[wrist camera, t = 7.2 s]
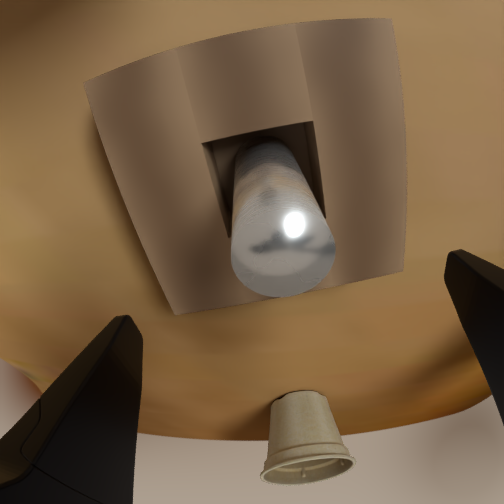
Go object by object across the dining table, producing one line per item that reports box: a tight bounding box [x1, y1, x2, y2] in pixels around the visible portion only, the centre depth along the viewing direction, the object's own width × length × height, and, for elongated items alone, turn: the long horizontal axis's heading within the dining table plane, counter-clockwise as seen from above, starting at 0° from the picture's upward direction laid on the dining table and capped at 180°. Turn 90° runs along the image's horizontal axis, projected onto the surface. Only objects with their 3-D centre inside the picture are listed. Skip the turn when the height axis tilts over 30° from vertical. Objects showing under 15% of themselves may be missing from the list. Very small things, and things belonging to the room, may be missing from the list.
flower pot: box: [260, 391, 356, 485], centre depth 29 cm, size 9×9×9 cm
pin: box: [231, 135, 336, 297], centre depth 14 cm, size 3×3×9 cm
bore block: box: [83, 18, 407, 315], centre depth 16 cm, size 14×14×4 cm
